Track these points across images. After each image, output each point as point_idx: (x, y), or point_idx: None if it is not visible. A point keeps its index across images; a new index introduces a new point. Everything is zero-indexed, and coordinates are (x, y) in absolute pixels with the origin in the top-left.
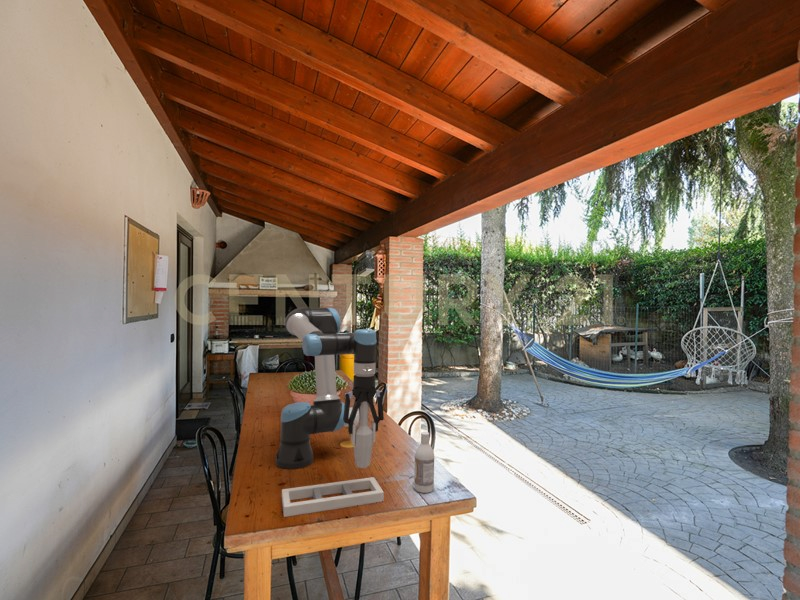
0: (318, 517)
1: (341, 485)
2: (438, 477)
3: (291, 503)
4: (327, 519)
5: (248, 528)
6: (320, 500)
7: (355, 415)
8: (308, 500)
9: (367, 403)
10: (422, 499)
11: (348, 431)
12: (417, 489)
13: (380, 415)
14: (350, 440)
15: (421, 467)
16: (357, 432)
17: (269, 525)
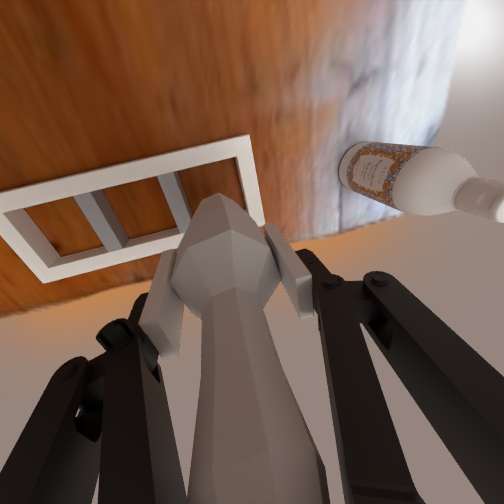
0: (133, 270)
1: (155, 175)
2: (421, 99)
3: (52, 270)
4: (153, 276)
5: (3, 304)
6: (121, 257)
7: (168, 429)
8: (90, 257)
9: None
10: (337, 212)
11: (136, 304)
12: (342, 182)
13: (379, 342)
14: None
15: (383, 203)
16: (196, 315)
17: (42, 295)
